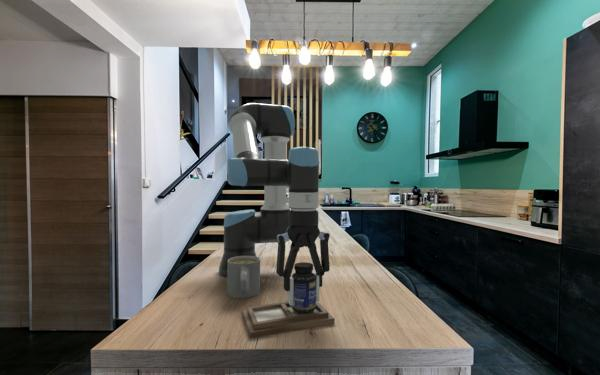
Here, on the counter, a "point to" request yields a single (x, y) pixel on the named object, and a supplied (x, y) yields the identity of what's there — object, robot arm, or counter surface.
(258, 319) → the divided wooden tray
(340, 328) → the counter surface
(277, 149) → the robot arm
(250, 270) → the coffee mug
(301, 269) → the pill bottle
